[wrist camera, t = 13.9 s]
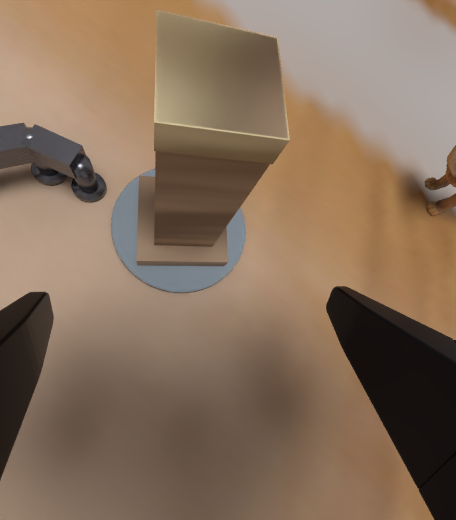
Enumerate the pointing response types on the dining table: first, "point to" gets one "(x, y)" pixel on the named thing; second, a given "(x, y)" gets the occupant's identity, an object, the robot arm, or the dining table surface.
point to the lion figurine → (453, 176)
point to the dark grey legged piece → (50, 159)
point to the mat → (168, 276)
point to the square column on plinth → (207, 137)
